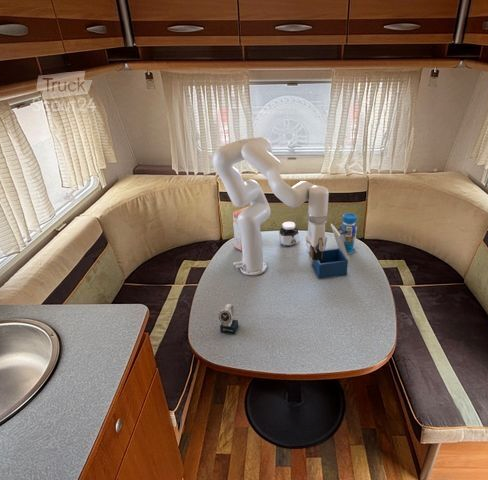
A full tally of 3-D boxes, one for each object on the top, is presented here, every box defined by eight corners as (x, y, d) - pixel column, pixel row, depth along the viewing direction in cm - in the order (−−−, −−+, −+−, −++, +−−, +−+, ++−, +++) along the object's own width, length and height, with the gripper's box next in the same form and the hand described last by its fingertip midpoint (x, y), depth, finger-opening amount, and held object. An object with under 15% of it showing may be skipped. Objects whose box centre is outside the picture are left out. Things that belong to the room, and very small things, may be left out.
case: (319, 278, 164) (319, 264, 161) (311, 265, 174) (312, 251, 170) (346, 274, 167) (348, 260, 163) (338, 261, 177) (339, 248, 173)
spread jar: (282, 248, 188) (281, 229, 182) (275, 238, 198) (275, 219, 192) (303, 244, 192) (303, 225, 186) (296, 235, 201) (296, 216, 195)
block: (312, 260, 147) (312, 251, 145) (309, 254, 151) (309, 245, 149) (322, 258, 148) (322, 249, 146) (319, 253, 152) (319, 244, 150)
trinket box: (326, 256, 181) (327, 240, 176) (305, 256, 181) (306, 240, 177) (325, 246, 190) (326, 230, 186) (305, 245, 190) (305, 230, 186)
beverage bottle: (335, 250, 187) (337, 215, 177) (345, 244, 192) (348, 210, 182) (347, 256, 181) (351, 221, 171) (358, 250, 186) (362, 215, 176)
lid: (339, 235, 155) (348, 231, 155) (330, 224, 165) (339, 220, 165) (347, 260, 163) (356, 256, 163) (338, 247, 173) (347, 243, 173)
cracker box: (242, 251, 186) (239, 215, 175) (234, 247, 189) (231, 211, 179) (261, 241, 194) (260, 206, 184) (254, 238, 198) (252, 203, 188)
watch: (219, 335, 133) (215, 313, 128) (226, 321, 140) (223, 299, 135) (233, 338, 132) (230, 315, 127) (240, 323, 139) (238, 301, 134)
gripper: (303, 209, 147) (302, 247, 156) (314, 228, 133) (312, 268, 142) (320, 207, 148) (318, 245, 157) (333, 226, 134) (330, 266, 143)
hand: (315, 255), depth 150 cm, fingers closed on block, 4 cm apart
